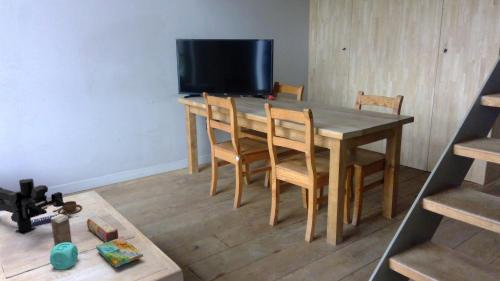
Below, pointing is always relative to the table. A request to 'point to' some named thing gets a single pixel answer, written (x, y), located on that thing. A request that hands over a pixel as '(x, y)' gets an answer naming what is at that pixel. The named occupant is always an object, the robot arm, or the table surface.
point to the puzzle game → (119, 251)
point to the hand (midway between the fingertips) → (55, 208)
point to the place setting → (69, 208)
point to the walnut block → (61, 229)
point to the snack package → (102, 228)
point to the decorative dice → (64, 255)
